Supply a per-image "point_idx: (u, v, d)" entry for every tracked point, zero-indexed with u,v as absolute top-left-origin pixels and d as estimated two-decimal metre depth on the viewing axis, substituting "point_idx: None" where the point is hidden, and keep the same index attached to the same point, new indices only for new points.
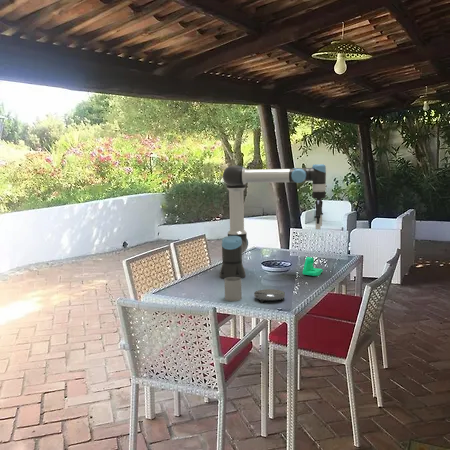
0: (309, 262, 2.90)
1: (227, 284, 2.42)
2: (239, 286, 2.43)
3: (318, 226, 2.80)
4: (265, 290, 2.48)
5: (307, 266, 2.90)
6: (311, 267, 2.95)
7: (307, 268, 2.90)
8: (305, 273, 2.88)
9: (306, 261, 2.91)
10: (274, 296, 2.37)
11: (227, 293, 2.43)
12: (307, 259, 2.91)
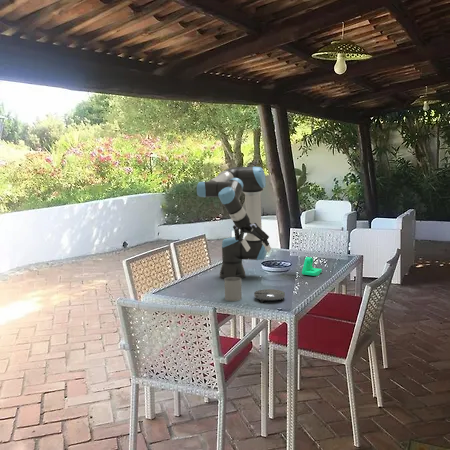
0: (308, 262, 2.90)
1: (227, 284, 2.42)
2: (239, 286, 2.43)
3: None
4: (265, 290, 2.48)
5: (306, 266, 2.91)
6: (310, 267, 2.95)
7: (306, 268, 2.90)
8: (304, 273, 2.88)
9: (305, 261, 2.91)
10: (274, 296, 2.37)
11: (227, 293, 2.43)
12: (306, 259, 2.91)
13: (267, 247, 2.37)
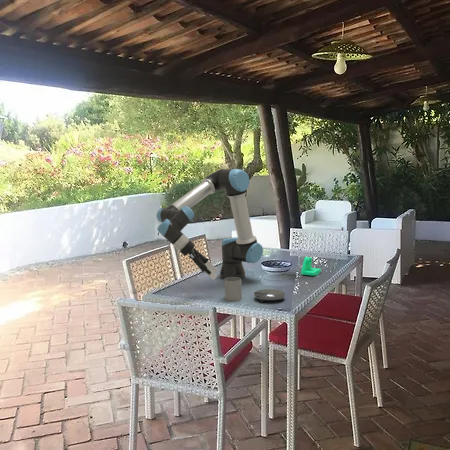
0: (308, 262, 2.91)
1: (227, 284, 2.42)
2: (239, 286, 2.43)
3: None
4: (265, 290, 2.48)
5: (306, 266, 2.91)
6: (309, 267, 2.96)
7: (305, 268, 2.91)
8: (304, 273, 2.88)
9: (305, 261, 2.91)
10: (274, 296, 2.37)
11: (227, 293, 2.43)
12: (306, 259, 2.91)
13: (211, 275, 2.36)
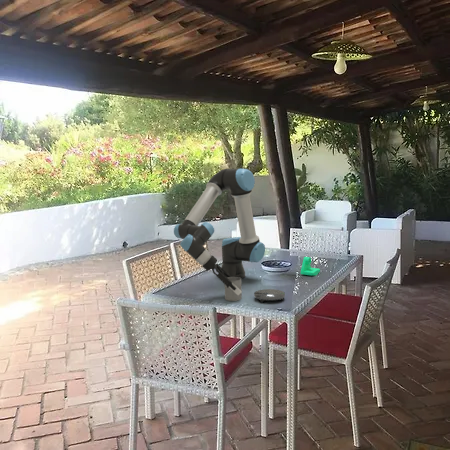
0: (307, 262, 2.91)
1: None
2: (239, 286, 2.43)
3: None
4: (265, 290, 2.48)
5: (305, 266, 2.91)
6: (309, 267, 2.96)
7: (304, 268, 2.91)
8: (303, 273, 2.89)
9: (304, 261, 2.91)
10: (274, 296, 2.37)
11: (227, 293, 2.43)
12: (305, 259, 2.92)
13: (236, 291, 2.40)
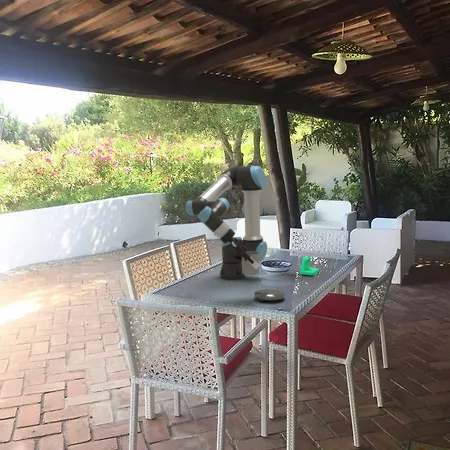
0: (306, 262, 2.91)
1: None
2: (257, 260, 2.38)
3: None
4: (265, 290, 2.48)
5: (304, 266, 2.91)
6: (308, 267, 2.96)
7: (304, 268, 2.91)
8: (302, 273, 2.89)
9: (303, 261, 2.91)
10: (274, 296, 2.37)
11: (245, 267, 2.38)
12: (304, 259, 2.92)
13: (254, 265, 2.36)
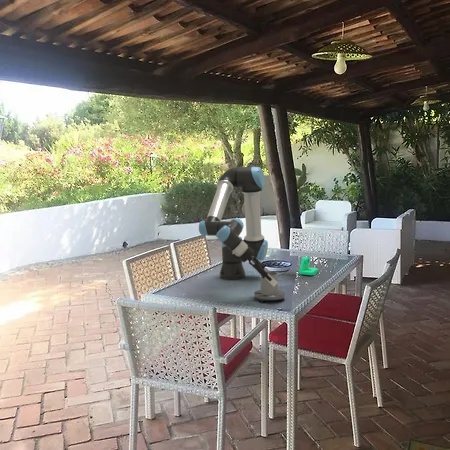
0: (305, 262, 2.91)
1: (264, 278, 2.39)
2: (276, 280, 2.40)
3: None
4: None
5: (303, 266, 2.92)
6: (307, 267, 2.96)
7: (303, 267, 2.91)
8: (302, 273, 2.89)
9: (302, 261, 2.92)
10: (274, 296, 2.37)
11: (264, 287, 2.40)
12: (303, 259, 2.92)
13: (271, 282, 2.35)
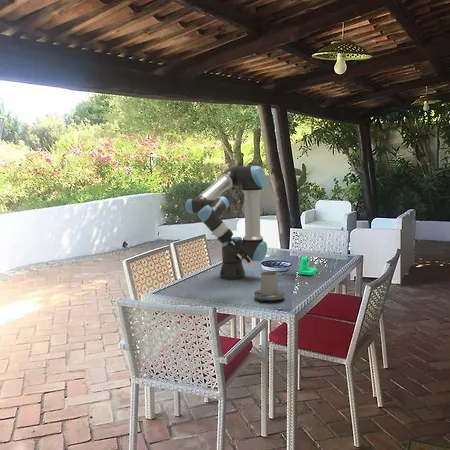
0: (305, 262, 2.91)
1: (264, 278, 2.39)
2: (276, 280, 2.40)
3: None
4: None
5: (303, 266, 2.92)
6: (306, 267, 2.97)
7: (302, 267, 2.91)
8: (301, 273, 2.89)
9: (302, 261, 2.92)
10: (274, 296, 2.37)
11: (264, 287, 2.40)
12: (303, 259, 2.92)
13: (250, 264, 2.37)
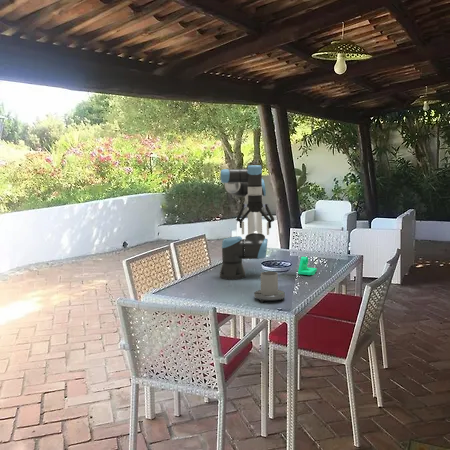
0: (304, 262, 2.92)
1: (264, 278, 2.39)
2: (276, 280, 2.40)
3: None
4: None
5: (302, 266, 2.92)
6: (305, 266, 2.97)
7: (302, 267, 2.92)
8: (301, 273, 2.89)
9: (301, 261, 2.92)
10: (274, 296, 2.37)
11: (264, 287, 2.40)
12: (302, 259, 2.92)
13: (268, 230, 2.61)
